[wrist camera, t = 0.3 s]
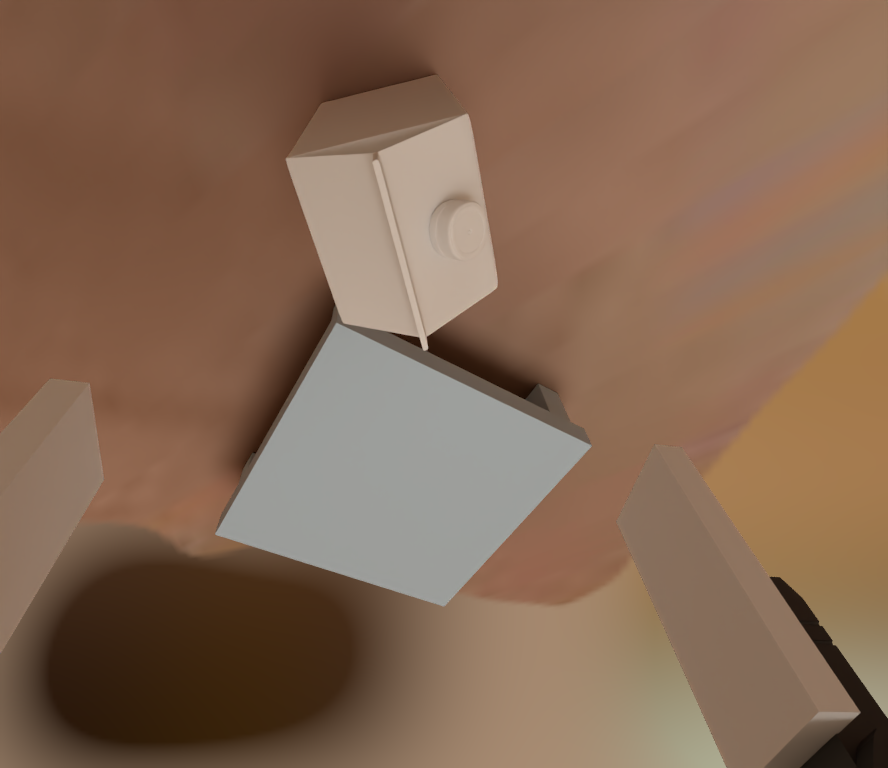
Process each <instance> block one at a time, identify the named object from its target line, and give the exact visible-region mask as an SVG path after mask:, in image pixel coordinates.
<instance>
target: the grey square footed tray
mask: <svg viewBox="0 0 888 768" xmlns="http://www.w3.org/2000/svg"><path fill="white" fill-rule="evenodd" d="M591 446H592V445H591V443H590V440H589V438H588V436H587V434H586V432H585V430H584V428H582V427H579V426H577V425H575V424H573V423H571V422H570V420H569V418H568V415H567V413H566V411H565V409H564V406H563V404H562V402H561V400H560V398H559V395H558V393H556V392H554V391H552V390H550V389H548V388H546V387H544V386H542V385H540V384H537V385H536V387H535V388H534V389H533V390H532V392H531V393H530V394H529V395H528V397H527V398H526V399H523V398H521V397H519V396H516V395H514V394H512V393H510V392H508V391H506V390H504V389H502V388H500V387H498V386H496V385H494V384H492V383H490V382H488V381H486V380H484V379H482V378H480V377H478V376H476V375H474V374H472V373H470V372H468V371H466V370H464V369H462V368H460V367H458V366H456V365H454V364H451V363H449V362H447V361H445V360H443V359H441V358H439V357H437V356H435V355H433V354H431V353H429V352H427V351H423V349H421V348H419V347H417V346H415V345H413V344H411V343H409V342H407V341H405V340H403V339H401V338H399V337H397V336H395V335H393V334H391V333H389V332H386V331H382V330H376V329H371V328H366V327H360V326H355V325H349V324H344V323H343V322H342V320H341V317H340V315H339V312H338V310H337V307H336V305H335V307H334V309H333V315H332V320H331V322H330V324H329V326H328V327H327V329H326V331H325V333H324V334H323V336H322V338H321V340H320V341H319V343H318V345H317V347H316V348H315V350H314V352H313V354H312V356H311V357H310V359H309V361H308V363H307V364H306V366H305V368H304V370H303V371H302V373H301V375H300V377H299V378H298V380H297V382H296V384H295V386H294V387H293V389H292V391H291V393H290V394H289V396H288V398H287V400H286V401H285V403H284V405H283V407H282V408H281V410H280V412H279V414H278V415H277V417H276V419H275V421H274V423H273V424H272V426H271V428H270V430H269V431H268V433H267V435H266V437H265V438H264V440H263V442H262V444H261V445H260V447H259V449H258V451H257V452H256V454H255V453H252V454H251V456H250V458H249V459H248V461H247V463H246V465H245V466H244V468H243V471H242V474H241V478H240V481H239V484H238V486H237V488H236V489H235V491H234V493H233V495H232V497H231V498H230V500H229V502H228V504H227V505H226V507H225V509H224V511H223V512H222V514H221V517H220V520H219V523H218V526H217V530H216V533H215V535H218V536H222V537H225V538H228V539H231V540H234V541H237V542H241V543H244V544H247V545H250V546H253V547H257V548H260V549H263V550H266V551H269V552H272V553H276V554H279V555H282V556H285V557H289V558H291V559H295V560H298V561H301V562H304V563H308V564H311V565H314V566H317V567H320V568H323V569H327V570H330V571H333V572H336V573H339V574H343V575H346V576H349V577H352V578H355V579H358V580H361V581H365V582H368V583H371V584H374V585H377V586H381V587H384V588H387V589H390V590H393V591H396V592H400V593H403V594H406V595H410V596H412V597H416V598H419V599H422V600H425V601H428V602H432V603H435V604H438V605H441V606H445V605H446V604H447V603H448V602H449V601H450V600H451V599H452V597H453V596H454V595H455V594H456V593H457V592H458V591H459V590H460V589H461V588H462V587H463V585H464V584H465V583H466V582H467V581H468V580H469V579H470V578H471V577H472V576H473V575H474V574H475V572H476V571H477V570H478V569H479V568H480V567H481V566H482V565H483V564H484V563H485V562H486V560H487V559H488V558H489V557H490V556H491V555H492V554H493V553H494V552H495V551H496V550H497V549H498V547H499V546H500V545H501V544H502V543H503V542H504V541H505V540H506V539H507V538H508V537H509V535H510V534H511V533H512V532H513V531H514V530H515V529H516V528H517V527H518V526H519V525H520V524H521V522H522V521H523V520H524V519H525V518H526V517H527V516H528V515H529V514H530V513H531V512H532V510H533V509H534V508H535V507H536V506H537V505H538V504H539V503H540V502H541V501H542V500H543V499H544V497H545V496H546V495H547V494H548V493H549V492H550V491H551V490H552V489H553V488H554V487H555V485H556V484H557V483H558V482H559V481H560V480H561V479H562V478H563V477H564V476H565V475H566V474H567V472H568V471H569V470H570V469H571V468H572V467H573V466H574V465H575V464H576V463H577V462H578V460H579V459H580V458H581V457H582V456H583V455H584V454H585V453H586V452H587V451H588V450H589V449H590V447H591Z"/></svg>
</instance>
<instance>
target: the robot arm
mask: <svg viewBox="0 0 888 768" xmlns="http://www.w3.org/2000/svg"><path fill="white" fill-rule="evenodd" d="M103 481H104V476H103V469H102V462H101V456H100V449H99V442H98V436H97V429H96V423H95V416H94V409H93V403H92V396H91V389H90V383H86V382H77V381H68V380H59V379H49V380H48V381H47V382H46V384H45V385H44V386H43V387H42V388H41V389H40V390H39V391H38V392H37V393H36V395H35V396H34V397H33V398H32V399H31V400H30V401H29V402H28V403H27V405H26V406H25V407H24V408H23V409H22V410H21V411H20V412H19V413H18V414H17V416H16V417H15V418H14V419H13V420H12V421H11V422H10V423H9V424H8V426H7V427H6V428H5V429H4V430H3V431H2V432H1V433H0V653H1V652H2V650H3V648H4V647H5V645H6V643H7V642H8V640H9V638H10V637H11V635H12V633H13V632H14V630H15V628H16V626H17V625H18V623H19V622H20V620H21V618H22V616H23V615H24V613H25V611H26V610H27V608H28V606H29V605H30V603H31V601H32V600H33V598H34V596H35V595H36V593H37V591H38V590H39V588H40V586H41V585H42V583H43V581H44V580H45V578H46V576H47V575H48V573H49V571H50V570H51V568H52V566H53V565H54V563H55V561H56V559H57V558H58V556H59V554H60V553H61V551H62V549H63V548H64V546H65V544H66V543H67V541H68V539H69V538H70V535H71V534H72V533H73V531H74V529H75V528H76V526H77V524H78V523H79V521H80V519H81V518H82V516H83V514H84V513H85V511H86V509H87V507H88V506H89V504H90V502H91V501H92V499H93V497H94V496H95V494H96V492H97V491H98V489H99V487H100V486H101V484H102V482H103ZM616 522H617V525H618V527H619V529H620V531H621V533H622V536H623V538H624V540H625V542H626V545H627V547H628V549H629V551H630V553H631V556H632V558H633V560H634V562H635V565H636V567H637V569H638V571H639V574H640V576H641V578H642V580H643V582H644V585H645V587H646V589H647V591H648V593H649V596H650V597H651V600H652V602H653V605H654V607H655V609H656V611H657V614H658V616H659V618H660V620H661V623H662V625H663V627H664V629H665V631H666V633H667V636H668V638H669V640H670V643H671V645H672V647H673V649H674V651H675V654H676V656H677V658H678V660H679V663H680V665H681V667H682V669H683V671H684V674H685V676H686V678H687V680H688V682H689V685H690V687H691V689H692V692H693V694H694V696H695V698H696V700H697V703H698V705H699V707H700V709H701V712H702V714H703V716H704V718H705V721H706V723H707V725H708V727H709V729H710V731H711V734H712V735H713V738H714V741H715V743H716V745H717V747H718V749H719V752H720V754H721V756H722V758H723V760H724V763H725V765H726V767H727V768H888V718H887V717H886V716H885V714H884V713H883V711H882V710H881V709H880V707H879V706H878V704H877V703H876V702H875V700H874V699H873V697H872V696H871V695H870V693H869V692H868V690H867V689H866V687H865V686H864V684H863V683H862V682H861V680H860V679H859V678H858V676H857V675H856V673H855V672H854V670H853V669H852V667H851V666H850V665H849V663H848V662H847V660H846V659H845V658H844V656H843V655H842V653H841V652H840V651H839V649H838V648H837V647H836V646H835V645H833V644H832V639H831V638H830V636H829V635H828V633H827V632H826V631H825V629H824V628H823V627H822V626H819V621H818V620H817V618H816V617H815V615H814V614H813V612H812V611H811V610H810V608H809V607H808V605H807V604H806V602H805V601H804V600H803V599H802V597H801V596H799V595H798V594H797V593H796V592H795V591H794V590H793V589H792V588H791V587H790V586H788V584H786V583H785V582H784V581H783V580H782V579H781V578H780V577H769V576H768V574H767V573H766V571H765V570H764V568H763V567H762V565H761V564H760V563H759V561H758V560H757V558H756V557H755V555H754V554H753V552H752V551H751V549H750V548H749V546H748V545H747V543H746V542H745V540H744V539H743V537H742V536H741V535H740V533H739V531H738V530H737V528H736V527H735V526H734V524H733V522H732V521H731V520H730V518H729V517H728V515H727V514H726V512H725V511H724V509H723V508H722V506H721V505H720V503H719V502H718V500H717V499H716V497H715V496H714V494H713V493H712V491H711V490H710V488H709V487H708V485H707V484H706V482H705V481H704V479H703V478H702V476H701V475H700V474H699V472H698V471H697V469H696V468H695V466H694V465H693V463H692V462H691V460H690V459H689V457H688V456H687V454H686V453H685V451H684V450H683V448H682V447H675V446H666V445H657V444H654V446H653V448H652V450H651V452H650V454H649V456H648V458H647V460H646V462H645V464H644V466H643V468H642V470H641V472H640V474H639V476H638V478H637V480H636V482H635V484H634V486H633V488H632V491H631V493H630V495H629V497H628V499H627V501H626V503H625V505H624V507H623V509H622V511H621V513H620V515H619V517H618V519H617V521H616Z"/></svg>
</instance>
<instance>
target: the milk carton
mask: <svg viewBox="0 0 888 768" xmlns="http://www.w3.org/2000/svg"><path fill="white" fill-rule="evenodd" d="M286 163H287V166H288V169H289V172H290V175H291V178H292V181H293V184H294V187H295V190H296V193H297V195H298V198H299V201H300V204H301V207H302V210H303V213H304V215H305V218H306V221H307V224H308V227H309V230H310V233H311V235H312V238H313V241H314V244H315V247H316V250H317V253H318V255H319V258H320V261H321V264H322V267H323V270H324V273H325V275H326V278H327V281H328V284H329V287H330V290H331V292H332V295H333V298H334V301H335V304H336V307H337V310H338V312H339V315H340V317H341V320H342V322H343V323H344V324H349V325H355V326H360V327H366V328H371V329H376V330H382V331H387V332H393V333H398V334H404V335H409V336H415V337H420V341H421V344H422V348H423V351H425V350H428V345H427V336H429V335H430V334H432V333H433V332H435V331H436V330H437V329H439V328H440V327H442V326H443V325H445V324H446V323H448V322H449V321H450V320H452V319H453V318H455V317H456V316H458V315H459V314H461V313H462V312H463V311H465V310H466V309H468V308H469V307H471V306H472V305H474V304H475V303H477V302H478V301H479V300H481V299H482V298H484V297H485V296H487V295H488V294H490V293H491V292H492V291H494V290H495V289H496V288H497V285H498V280H497V271H496V265H495V258H494V252H493V246H492V241H491V235H490V229H489V223H488V217H487V211H486V206H485V200H484V194H483V188H482V182H481V176H480V170H479V165H478V159H477V153H476V147H475V142H474V136H473V131H472V126H471V122H470V118H469V115H468V113H467V112H466V110H465V109H464V108H463V106H462V105H461V104H460V103H459V101H458V100H457V99H456V97H455V96H454V95H453V94H452V92H451V91H450V90H449V89H448V87H447V86H446V85H445V84H444V82H443V81H442V80H441V79H440V77H439V76H438V75H432V76H428V77H424V78H420V79H416V80H412V81H408V82H404V83H400V84H396V85H392V86H388V87H384V88H380V89H376V90H372V91H368V92H364V93H360V94H356V95H352V96H348V97H344V98H340V99H336V100H332V101H328V102H324V103H321V104H320V106H319V108H318V109H317V111H316V112H315V114H314V116H313V117H312V119H311V120H310V122H309V123H308V125H307V127H306V128H305V130H304V131H303V133H302V135H301V136H300V138H299V139H298V141H297V143H296V144H295V146H294V147H293V149H292V150H291V152H290V154H289V155H288V157H287V158H286Z"/></svg>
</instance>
